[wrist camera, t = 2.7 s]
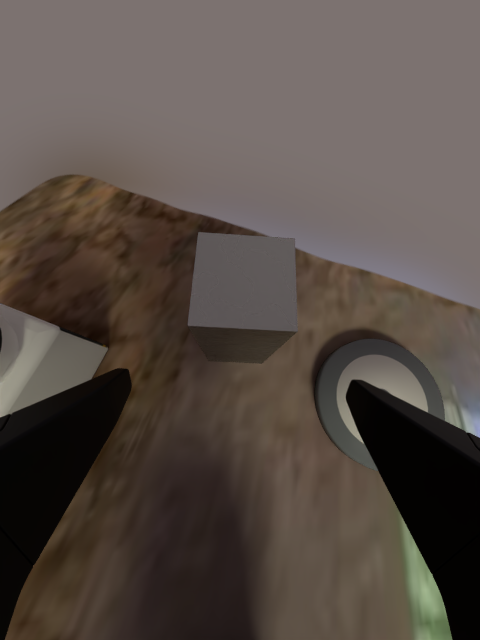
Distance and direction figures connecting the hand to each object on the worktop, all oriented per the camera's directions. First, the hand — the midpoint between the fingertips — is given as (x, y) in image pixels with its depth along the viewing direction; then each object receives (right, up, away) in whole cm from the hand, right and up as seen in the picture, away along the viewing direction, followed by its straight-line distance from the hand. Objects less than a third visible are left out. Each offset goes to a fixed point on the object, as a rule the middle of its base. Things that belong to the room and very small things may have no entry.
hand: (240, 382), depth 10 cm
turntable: (+12, -5, +12) cm, 18 cm away
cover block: (0, +1, +13) cm, 13 cm away
